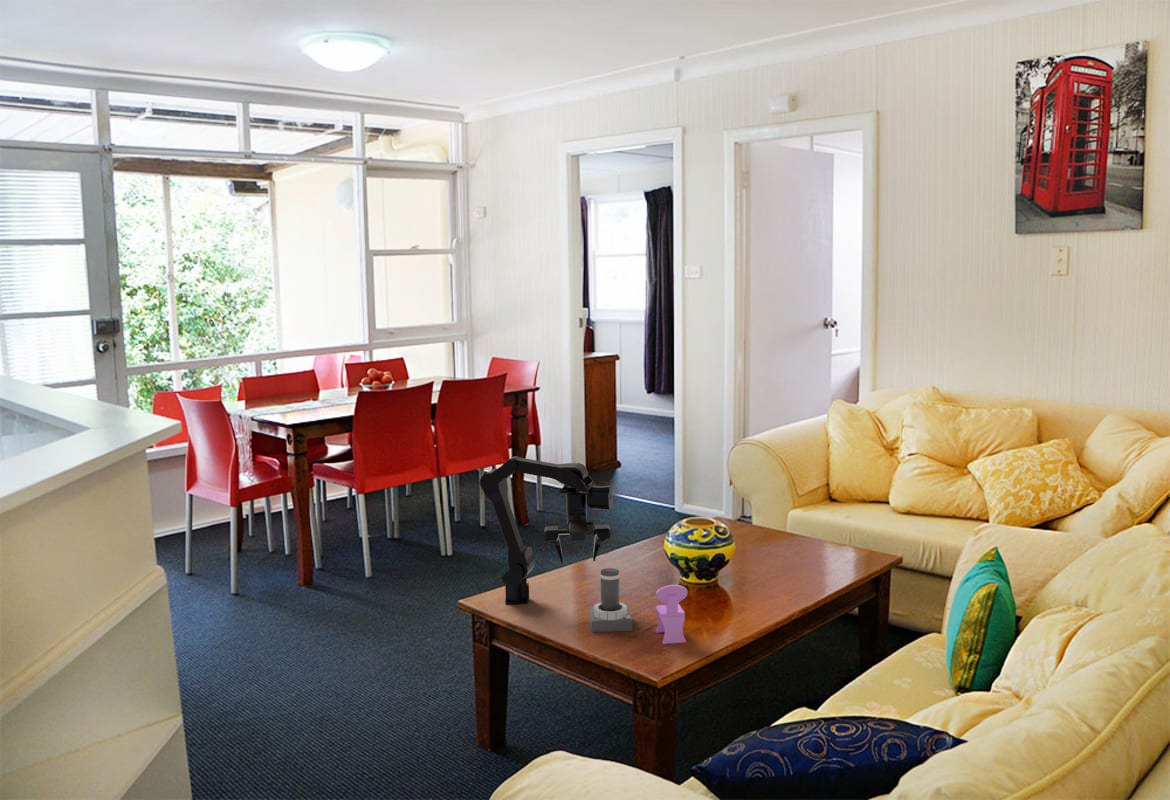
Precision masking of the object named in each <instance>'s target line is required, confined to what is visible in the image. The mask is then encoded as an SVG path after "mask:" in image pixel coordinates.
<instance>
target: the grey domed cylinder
mask: <svg viewBox="0 0 1170 800" xmlns="http://www.w3.org/2000/svg"><path fill="white" fill-rule="evenodd" d="M599 575H600V576H599V578H600V603H601V610H603V611H617V610H620V609H619V602H620V570H619V569H617V568H614V567H613V568H612V567H611V568H609V567H608V568H603V569H601V570H600V573H599Z"/></svg>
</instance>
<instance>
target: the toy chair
mask: <svg viewBox="0 0 1170 800" xmlns="http://www.w3.org/2000/svg"><path fill="white" fill-rule="evenodd" d="M655 595H656V596H655V597H656V599H657V600H658V601H659V602H661V603H663V604H662V605H655V609H654V610H655V613H656V615H657V619H658V622H657V625H656V626H657V627H656V630H655V633H656V634H658V633H664V635H663V640H662V645H668V644H681V643H682V644H684V643H687V640H686V638H685V635H684V631H683V627H684V623H685V619H686V615H685V613H686V612H685V611H684V609H683V608H682V606H681V605H680V604H679V603H680V602H681V601H683V600H684V599H685V598H686V597H687V596H688V589H687V588H686V587H685V586H683V585H680V584H668V585H665V586H662V587H659V588H658V589H657V590H656V592H655Z"/></svg>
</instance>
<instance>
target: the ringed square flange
mask: <svg viewBox="0 0 1170 800" xmlns="http://www.w3.org/2000/svg"><path fill="white" fill-rule="evenodd" d="M619 609H620V610H617V611H603V610H601V602H598V603H596V604H595V605H594V606H593V608H589V615H588V616H589V624H590V631H591V633H600V632H602V633H603V632H626V631H627V632H629V631H633V629H634V628H633V617H632V614H631V609H630V607H629V606H628V605H627V604H625V603H623V602H621V601H619Z"/></svg>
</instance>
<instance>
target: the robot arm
mask: <svg viewBox="0 0 1170 800" xmlns="http://www.w3.org/2000/svg"><path fill="white" fill-rule="evenodd" d="M514 473H518V474H519V473H521V474H525V475H531V476H536V477H542V478H546V479H547V478H548V479H553V480H555V481H556V482H558V483H560V484H562V485H563V486H562V488H561V489H559V491H558V493H559V494H566V496H565V497H566V500H565V501H566V502H565V503H566V529H565V528H561V529H559V526H558V525H548V526H545V527H544V529H543V530H544V531H543V532H544V533H543V534H544V541H546V542H549V544H552V545H553V546H554V548H555V550H556V551H557V554H558V557H559V561H560V563H563V551H562V546H561V539H560V537H569V540H570V541H571V542H575V541H582V542H583V541H586V540H588V536H594V538H593V551H592V552H593V553H592V561H593V562H595V561H596V559H597V556H598V552H599V549H600V547H601V545H602V543H604V542H607V541H606V540H608V539H611V538H612V537H611V536H612V535H611V533H612V532H611V528H610V525H608V523H607V524H605V523H604V524H595V528H594V522H593V521H588V508H590V510H594V511H596V510H597V511H598V510H601V511H612V510H613V507H614V495H613V490H612V486H611V485H596V482H594V480H593V478H592V477H591V476H590V475H589V472H588V469H587V467H586V466H585V465H584V464H582V463H579V462H568V463H567V462H566V463H553V462H547V461H542V460H535V459H531V458H526V457H525V458H523V457H520V456H517V455H516V456H515V455H514V456H512V457H511V458H508V459H507V460H506V462H504V463H503V464H501V466H499V467H498V468H494V469H491V470H490V471H488V472H486V473H484V474H483V475H482V476H481V477H480V479H479V486H480V488H481V490H482V492H483V494H484V496H485V497H486V498H487V499H488V500H489V502H491V504H492V507H493V511H494V512H495V516H496V518H497V522H498V524H499V525H498V526H499V527H500V530H501V533H502V536H503V538H504V539H503V540H504V541H505V545H506V547H507V565H508V570H507V571H506V572H505V573H504V574H503V575H502V576H501V580H502V582H503V584H504V585H505V600H504V603H505V605H511V604H512V605H513V604H514V605H515V604H528V603H529V600H530V583H529V582H528V579H527V577H529V575H530V573H531V572H532V571H533V570H534V568H535V565H536V562H535V561H536V560H537V558H536V556H535V555H534V552H533V548H532V546H529V547H527V546H526V545H525V544H524V543H523V540H522V536H521V534H520V531H519V528H518V525H517V523H516V520H515V517H514V516H515V515H514V513H513V510H512V508H511V505H510V502H509V499H508V487H509V486H508V481H507V479H508V478H510V476H512V475H513V474H514ZM587 507H588V508H587Z"/></svg>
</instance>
